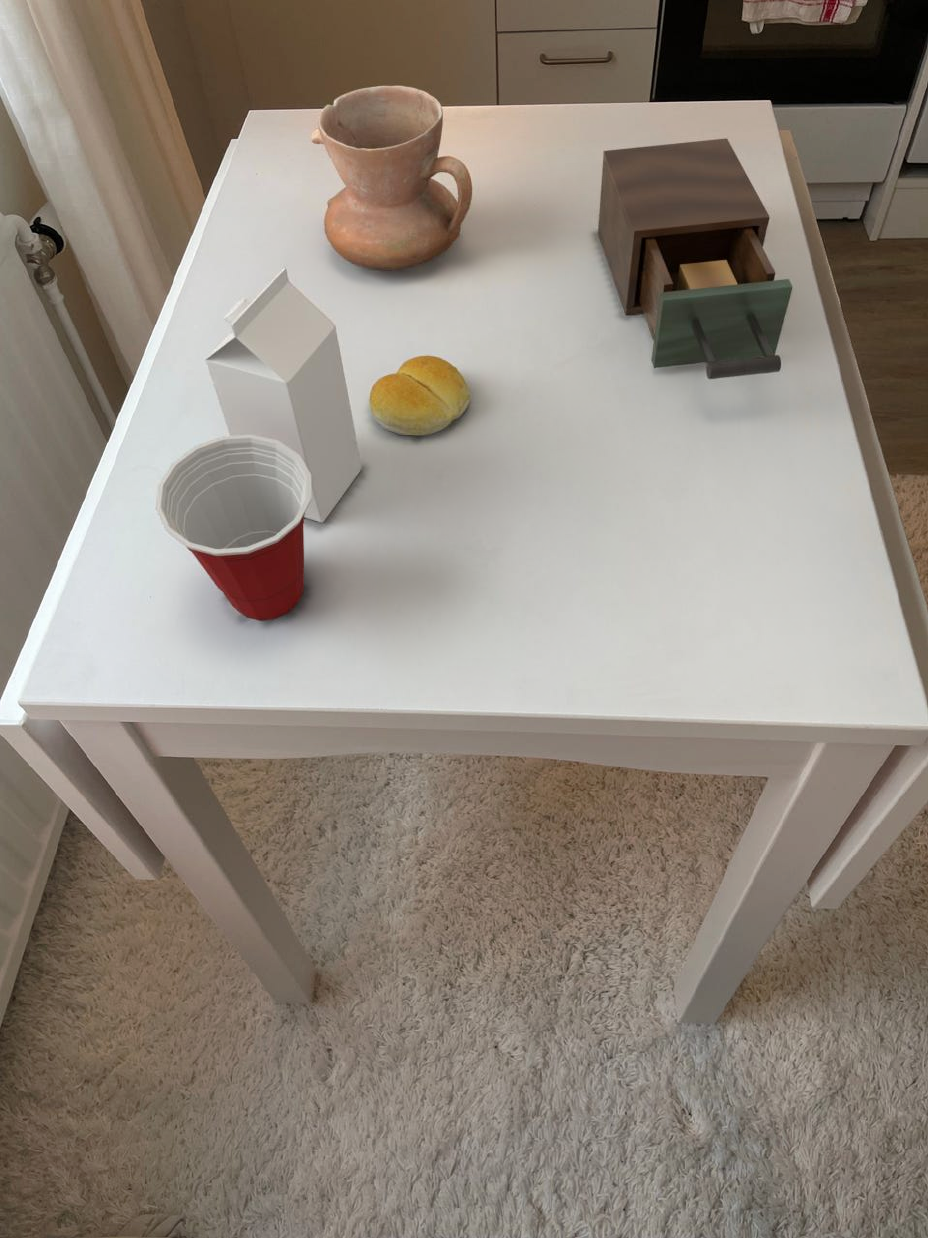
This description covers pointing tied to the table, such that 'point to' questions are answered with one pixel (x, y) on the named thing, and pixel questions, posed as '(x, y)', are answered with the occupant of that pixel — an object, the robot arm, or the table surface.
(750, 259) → the drawer
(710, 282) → the block
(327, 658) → the table surface
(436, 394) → the bread roll
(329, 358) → the milk carton
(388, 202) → the ceramic jug
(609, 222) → the cabinet
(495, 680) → the table surface
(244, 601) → the plastic cup
